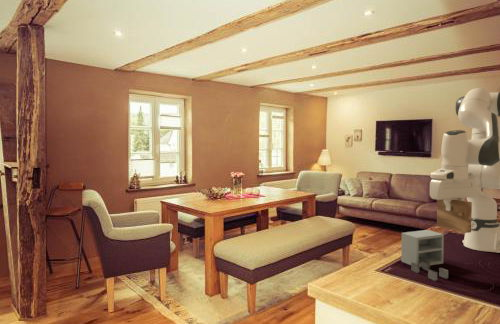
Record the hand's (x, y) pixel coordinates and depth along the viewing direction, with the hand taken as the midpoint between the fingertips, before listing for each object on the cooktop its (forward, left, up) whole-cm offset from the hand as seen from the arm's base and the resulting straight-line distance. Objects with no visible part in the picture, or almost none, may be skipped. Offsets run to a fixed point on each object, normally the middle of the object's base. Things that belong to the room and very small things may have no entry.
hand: (453, 210), depth 129 cm
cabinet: (+2, -12, -24) cm, 27 cm away
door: (0, 0, -7) cm, 7 cm away
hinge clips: (+10, -1, -24) cm, 26 cm away
